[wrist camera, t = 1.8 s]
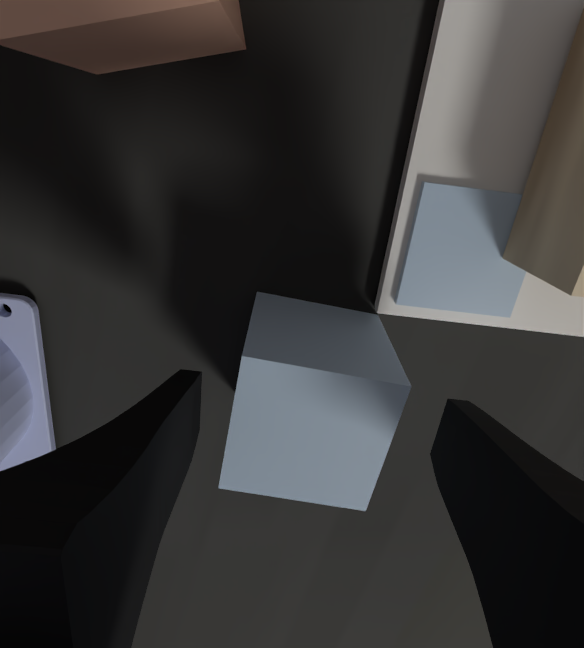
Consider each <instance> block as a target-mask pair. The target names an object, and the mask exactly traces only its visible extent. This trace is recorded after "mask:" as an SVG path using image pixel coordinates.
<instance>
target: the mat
mask: <svg viewBox="0 0 584 648" xmlns="http://www.w3.org/2000/svg"><path fill="white" fill-rule="evenodd" d="M583 9H584V0H439V5H438V9H437V14H436V19H435V23H434V28H433V33H432V38H431V42H430V47H429V52H428V56H427V61H426V66H425V70H424V75H423V80H422V84H421V89H420V94H419V99H418V103H417V108H416V113H415V117H414V122H413V127H412V131H411V136H410V141H409V145H408V150H407V155H406V160H405V164H404V169H403V174H402V178H401V183H400V188H399V192H398V197H397V202H396V206H395V211H394V216H393V221H392V225H391V230H390V235H389V239H388V244H387V249H386V253H385V258H384V263H383V267H382V272H381V277H380V282H379V286H378V291H377V296H376V300H375V305H374V308H375V310H376V312H377V313H381V314H390V315H398V316H407V317H416V318H424V319H433V320H442V321H451V322H459V323H468V324H477V325H485V326H494V327H503V328H512V329H520V330H529V331H538V332H546V333H555V334H564V335H573V336H581V337H584V297H578V296H570V295H569V294H567V293H565V292H563V291H561V290H559V289H558V288H556V287H554V286H552V285H550V284H548V283H547V282H545V281H543V280H541V279H539V278H537V277H536V276H534V275H532V274H530V273H528V272H526V271H525V270H523V269H521V268H519V267H517V266H515V265H514V264H512V263H510V262H508V261H506V260H504V259H502V257H503V254H504V251H505V248H506V244H507V241H508V238H509V235H510V232H511V229H512V226H513V223H514V220H515V217H516V214H517V211H518V208H519V205H520V202H521V199H522V195H523V192H524V189H525V186H526V183H527V180H528V177H529V174H530V171H531V168H532V165H533V162H534V159H535V156H536V153H537V149H538V146H539V143H540V140H541V137H542V134H543V131H544V128H545V125H546V122H547V119H548V116H549V113H550V110H551V107H552V104H553V100H554V97H555V94H556V91H557V88H558V85H559V82H560V79H561V76H562V73H563V70H564V67H565V64H566V61H567V58H568V54H569V51H570V48H571V45H572V42H573V39H574V36H575V33H576V30H577V27H578V24H579V21H580V18H581V15H582V12H583Z"/></svg>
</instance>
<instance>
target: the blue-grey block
mask: <svg viewBox="0 0 584 648" xmlns="http://www.w3.org/2000/svg"><path fill="white" fill-rule="evenodd" d="M410 389H411V384H410V382H409V380H408V378H407V376H406V374H405V372H404V370H403V367H402V365H401V363H400V361H399V359H398V357H397V355H396V353H395V350H394V348H393V346H392V344H391V342H390V340H389V338H388V336H387V333H386V331H385V329H384V327H383V325H382V323H381V321H380V319H379V316H378V315H377V314H371V313H366V312H361V311H356V310H351V309H345V308H340V307H335V306H330V305H325V304H319V303H314V302H309V301H304V300H299V299H293V298H288V297H283V296H278V295H273V294H267V293H262V292H257V293H256V298H255V302H254V306H253V311H252V315H251V319H250V323H249V328H248V332H247V336H246V340H245V345H244V349H243V353H242V358H241V363H240V369H239V375H238V380H237V386H236V392H235V397H234V403H233V409H232V414H231V420H230V426H229V431H228V437H227V443H226V448H225V454H224V460H223V465H222V471H221V476H220V482H219V488H221V489H227V490H234V491H240V492H246V493H253V494H259V495H266V496H272V497H279V498H285V499H291V500H298V501H304V502H311V503H317V504H323V505H330V506H336V507H343V508H349V509H356V510H362V511H366V509H367V506H368V503H369V501H370V498H371V495H372V492H373V490H374V487H375V484H376V482H377V479H378V476H379V473H380V471H381V468H382V465H383V463H384V460H385V457H386V454H387V452H388V449H389V446H390V444H391V441H392V438H393V435H394V433H395V430H396V427H397V424H398V422H399V419H400V416H401V414H402V411H403V408H404V405H405V403H406V400H407V397H408V395H409V392H410Z"/></svg>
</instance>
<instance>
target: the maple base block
mask: <svg viewBox="0 0 584 648" xmlns="http://www.w3.org/2000/svg"><path fill="white" fill-rule="evenodd" d="M502 259H504V260H506V261H508V262H510V263H512V264H514V265H515V266H517V267H519V268H521V269H523V270H525V271H526V272H528V273H530V274H532V275H534V276H536V277H537V278H539V279H541V280H543V281H545V282H547V283H548V284H550V285H552V286H554V287H556V288H558V289H559V290H561V291H563V292H565V293H567V294H569V295H570V296H578V297H584V9H583V12H582V15H581V18H580V21H579V24H578V27H577V30H576V33H575V36H574V39H573V42H572V45H571V48H570V51H569V54H568V58H567V61H566V64H565V67H564V70H563V73H562V76H561V79H560V82H559V85H558V88H557V91H556V94H555V97H554V100H553V104H552V107H551V110H550V113H549V116H548V119H547V122H546V125H545V128H544V131H543V134H542V137H541V140H540V143H539V146H538V149H537V153H536V156H535V159H534V162H533V165H532V168H531V171H530V174H529V177H528V180H527V183H526V186H525V189H524V192H523V195H522V199H521V202H520V205H519V208H518V211H517V214H516V217H515V220H514V223H513V226H512V229H511V232H510V235H509V238H508V241H507V244H506V248H505V251H504V254H503V257H502Z"/></svg>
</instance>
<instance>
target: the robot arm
mask: <svg viewBox="0 0 584 648" xmlns="http://www.w3.org/2000/svg"><path fill="white" fill-rule="evenodd" d="M3 304H6V305H8V306H9V307H10V308H11V311H12V313H10V312H7V311H6V310H5V309H4V306H3ZM201 381H202V372H200V371H191V370H179V371H178V372H177V373H175V374H174V375H173V376H171V377H170V378H169V379H168V380H166V381H165V382H164V383H163V384H161V385H160V386H159V387H158V388H156V389H155V390H154V391H153V392H151V393H150V394H149V395H147V396H146V397H145V398H143V399H142V400H141V401H139V402H138V403H137V404H135V405H134V406H133V407H131V408H130V409H128V410H127V411H125V412H124V413H122V414H121V415H119V416H118V417H116V418H115V419H113V420H112V421H110V422H108V423H107V424H105V425H103V426H101V427H100V428H98V429H96V430H94V431H92V432H91V433H89V434H87V435H85V436H83V437H81V438H79V439H77V440H75V441H73V442H71V443H69V444H66V445H64V446H62V447H60V448H58V449H56V447H55V439H54V431H53V423H52V415H51V407H50V399H49V391H48V383H47V375H46V367H45V359H44V351H43V343H42V335H41V327H40V319H39V311H38V307H37V305H36V303H35V302H34V301H33V300H32V299H30V298H29V297H26V296H23V295H14V294H5V293H0V648H131V645H132V642H133V638H134V634H135V630H136V626H137V622H138V619H139V615H140V611H141V608H142V604H143V600H144V597H145V593H146V589H147V586H148V582H149V578H150V575H151V571H152V568H153V564H154V561H155V557H156V554H157V550H158V547H159V544H160V541H161V538H162V535H163V532H164V529H165V527H166V524H167V522H168V519H169V517H170V514H171V512H172V509H173V507H174V504H175V502H176V499H177V497H178V494H179V492H180V489H181V487H182V484H183V481H184V479H185V476H186V474H187V471H188V469H189V466H190V463H191V461H192V457H193V453H194V450H195V446H196V442H197V438H198V434H199V428H200V404H201ZM430 455H431V459H432V464H433V468H434V473H435V476H436V480H437V484H438V487H439V490H440V492H441V495H442V497H443V500H444V502H445V505H446V508H447V510H448V513H449V515H450V517H451V520H452V522H453V525H454V527H455V530H456V532H457V535H458V537H459V540H460V542H461V545H462V547H463V549H464V552H465V554H466V557H467V560H468V562H469V565H470V568H471V571H472V573H473V577H474V580H475V583H476V587H477V590H478V594H479V597H480V601H481V604H482V607H483V611H484V615H485V618H486V622H487V626H488V630H489V634H490V637H491V641H492V645H493V648H584V481H582V480H580V479H579V478H577V477H575V476H574V475H572V474H571V473H569V472H567V471H566V470H564V469H563V468H561V467H560V466H558V465H557V464H555V463H554V462H552V461H551V460H550V459H548V458H547V457H545V456H544V455H542V454H541V453H539V452H538V451H537V450H535V449H534V448H532V447H531V446H530V445H528V444H527V443H526V442H524V441H523V440H521V439H520V438H519V437H517V436H516V435H515V434H513V433H512V432H511V431H509V430H508V429H507V428H505V427H504V426H503V425H501V424H500V423H499V422H498V421H496V420H495V419H494V418H492V417H491V416H490V415H488V414H487V413H485V412H484V411H483V410H481V409H480V408H478V407H477V406H475V405H474V404H472V403H471V402H469V401H464V400H455V399H448V400H447V403H446V406H445V409H444V412H443V415H442V418H441V422H440V425H439V428H438V431H437V434H436V437H435V441H434V444H433V447H432V450H431V453H430Z"/></svg>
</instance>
